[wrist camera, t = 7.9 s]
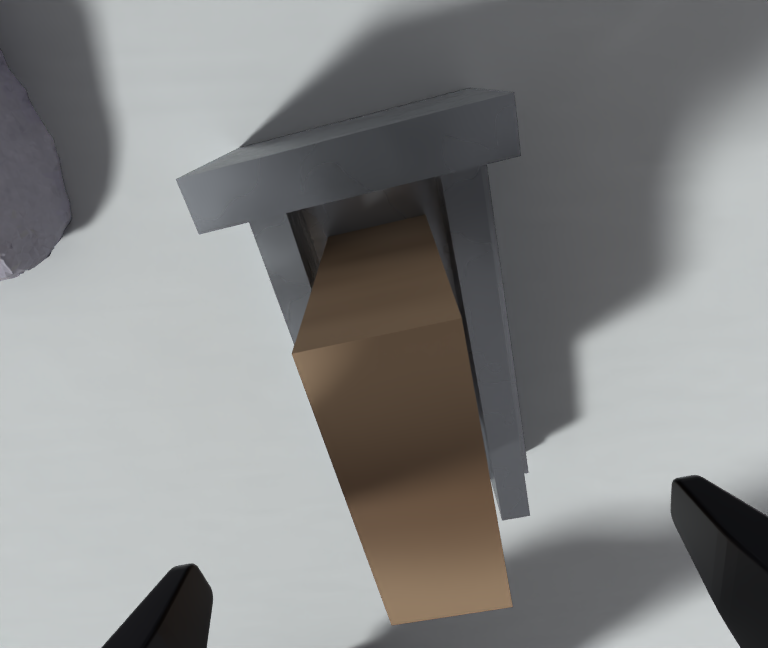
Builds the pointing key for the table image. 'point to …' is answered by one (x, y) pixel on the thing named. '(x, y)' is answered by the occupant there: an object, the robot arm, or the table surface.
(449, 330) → the brown wooden block
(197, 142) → the table surface
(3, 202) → the stone block
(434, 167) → the floor track
